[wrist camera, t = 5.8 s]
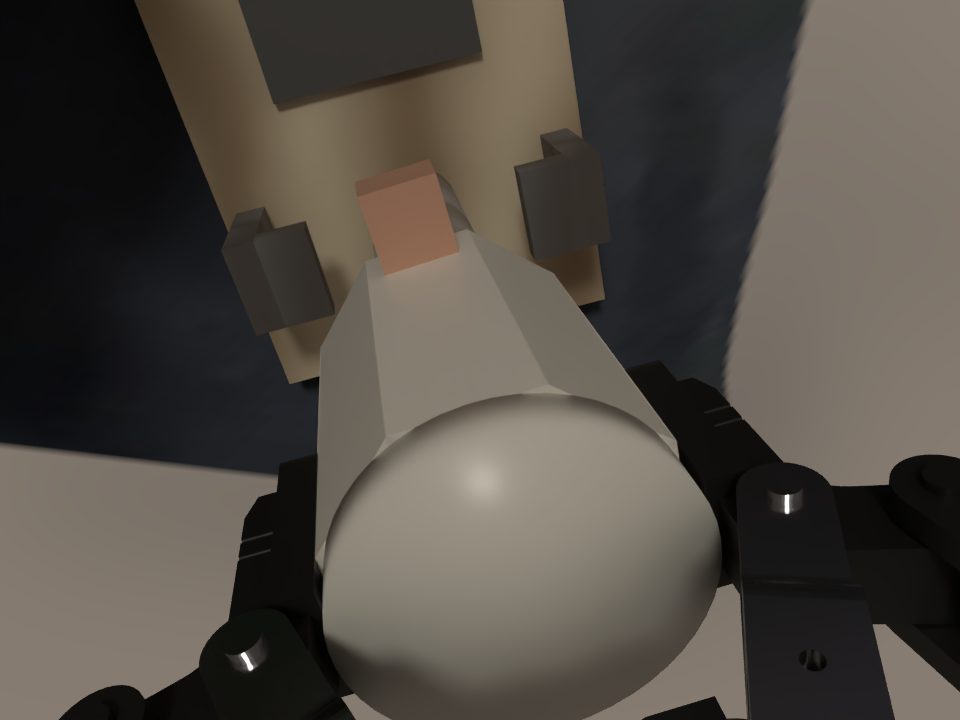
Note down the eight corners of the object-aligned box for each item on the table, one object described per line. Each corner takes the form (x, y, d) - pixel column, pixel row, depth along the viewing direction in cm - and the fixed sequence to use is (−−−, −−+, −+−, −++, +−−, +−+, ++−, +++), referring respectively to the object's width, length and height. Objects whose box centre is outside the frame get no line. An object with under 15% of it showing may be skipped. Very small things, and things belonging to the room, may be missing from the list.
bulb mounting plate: (291, 366, 30) (272, 527, 22) (101, -113, 22) (-55, -164, 13) (593, 284, 31) (692, 410, 22) (520, -213, 23) (633, -324, 14)
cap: (257, 212, 15) (194, 415, 8) (524, 128, 15) (684, 258, 8) (393, 527, 20) (427, 833, 13) (599, 459, 20) (745, 725, 13)
